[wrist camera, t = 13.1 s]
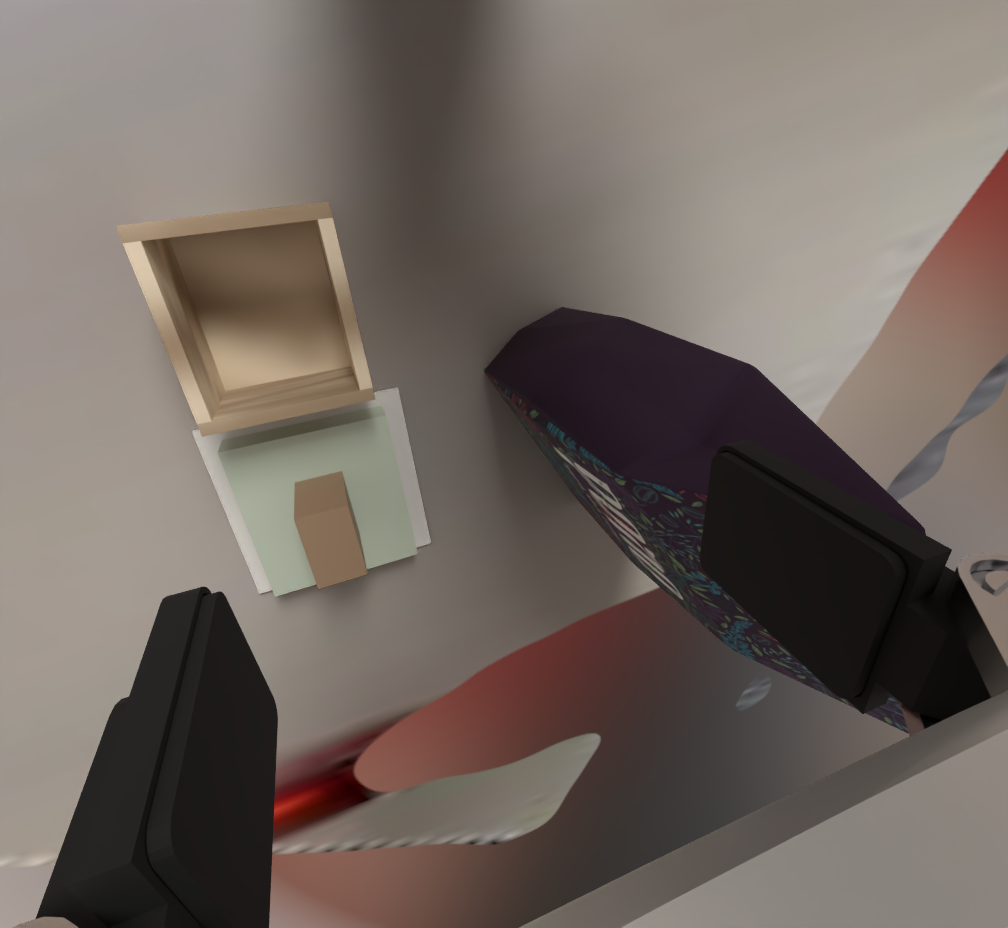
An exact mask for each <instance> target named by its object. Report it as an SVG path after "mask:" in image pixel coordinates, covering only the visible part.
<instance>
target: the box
mask: <svg viewBox="0 0 1008 928" xmlns="http://www.w3.org/2000/svg"><path fill="white" fill-rule="evenodd" d="M116 228H117V230H118V233H119V235H120V238H121V240H122V243H123V245H124V247H125V250H126V252H127V255H128V257H129V260H130V262H131V265H132V267H133V269H134V272H135V274H136V277H137V279H138V282H139V284H140V286H141V289H142V291H143V294H144V296H145V299H146V301H147V304H148V306H149V308H150V311H151V313H152V316H153V318H154V321H155V323H156V326H157V328H158V330H159V333H160V335H161V338H162V340H163V343H164V345H165V347H166V350H167V352H168V355H169V357H170V360H171V362H172V365H173V367H174V369H175V372H176V374H177V377H178V379H179V382H180V384H181V387H182V389H183V391H184V394H185V396H186V399H187V401H188V404H189V406H190V408H191V411H192V413H193V416H194V418H195V421H196V423H197V426H198V428H199V430H200V433H201V435H202V437H204V436H208V435H213V434H218V433H222V432H227V431H232V430H236V429H241V428H246V427H250V426H255V425H260V424H264V423H269V422H273V421H278V420H283V419H287V418H292V417H297V416H301V415H306V414H311V413H315V412H320V411H325V410H329V409H334V408H339V407H343V406H348V405H352V404H357V403H362V402H366V401H371V400H376V399H375V395H374V391H373V387H372V382H371V378H370V374H369V370H368V365H367V361H366V357H365V353H364V349H363V344H362V340H361V336H360V332H359V327H358V323H357V319H356V315H355V310H354V306H353V302H352V298H351V293H350V289H349V285H348V281H347V276H346V272H345V268H344V264H343V259H342V255H341V251H340V247H339V242H338V238H337V234H336V230H335V226H334V221H333V217H332V213H331V209H330V204H329V202H320V203H311V204H303V205H294V206H285V207H276V208H267V209H259V210H250V211H241V212H232V213H224V214H215V215H206V216H197V217H189V218H180V219H171V220H162V221H153V222H145V223H136V224H127V225H118V226H116Z"/></svg>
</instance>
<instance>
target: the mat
mask: <svg viewBox="0 0 1008 928" xmlns="http://www.w3.org/2000/svg"><path fill="white" fill-rule="evenodd" d="M374 395H375V399H376V400H371V401H366V402H362V403H357V404H352V405H348V406H343V407H339V408H334V409H329V410H325V411H320V412H315V413H311V414H306V415H301V416H297V417H292V418H287V419H283V420H278V421H273V422H269V423H264V424H260V425H255V426H250V427H246V428H241V429H236V430H232V431H227V432H222V433H218V434H213V435H208V436H204V437H202V435H201V433H200V430H199V429H196V430H193V431H192V433H193V436H194V438H195V441H196V443H197V445H198V448H199V450H200V453H201V455H202V457H203V460H204V462H205V465H206V467H207V469H208V472H209V474H210V477H211V479H212V481H213V484H214V486H215V489H216V491H217V493H218V496H219V498H220V501H221V503H222V505H223V508H224V510H225V512H226V515H227V517H228V520H229V522H230V524H231V527H232V529H233V532H234V534H235V536H236V539H237V541H238V544H239V546H240V548H241V551H242V553H243V556H244V558H245V560H246V563H247V565H248V568H249V570H250V572H251V575H252V577H253V579H254V582H255V584H256V587H257V589H258V591H259V594H261V593H264V592H268V591H271V590H272V588H271V586H270V583H269V581H268V578H267V576H266V573H265V571H264V568H263V566H262V563H261V561H260V558H259V556H258V553H257V551H256V548H255V546H254V543H253V541H252V538H251V536H250V533H249V531H248V528H247V526H246V523H245V521H244V518H243V516H242V513H241V511H240V508H239V506H238V503H237V501H236V498H235V496H234V493H233V491H232V488H231V486H230V483H229V481H228V478H227V476H226V473H225V471H224V468H223V466H222V463H221V461H220V458H219V456H218V450H219V447H220V444H221V442H222V440H225V439H229V438H234V437H238V436H243V435H247V434H252V433H257V432H261V431H266V430H270V429H275V428H280V427H284V426H289V425H293V424H298V423H302V422H307V421H312V420H316V419H321V418H325V417H330V416H335V415H339V414H344V413H348V412H353V411H358V410H362V409H367V408H371V407H376V406H380V405H381V406H382V408H383V410H384V412H385V414H386V417H387V422H388V426H389V431H390V435H391V439H392V444H393V448H394V452H395V457H396V461H397V466H398V470H399V474H400V479H401V483H402V487H403V492H404V496H405V501H406V505H407V509H408V514H409V518H410V522H411V527H412V531H413V536H414V540H415V544H416V548H417V547H420V546H424V545H427V544H430V543H431V540H430V536H429V531H428V526H427V521H426V517H425V512H424V507H423V503H422V498H421V493H420V489H419V484H418V479H417V474H416V470H415V465H414V460H413V456H412V451H411V446H410V442H409V437H408V432H407V427H406V423H405V418H404V413H403V409H402V404H401V399H400V395H399V390H398V387H395V388H390V389H385V390H381V391H376V392H374Z"/></svg>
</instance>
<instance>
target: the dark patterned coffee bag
mask: <svg viewBox="0 0 1008 928" xmlns="http://www.w3.org/2000/svg"><path fill="white" fill-rule="evenodd" d="M485 373H486V375H487V376H488V377H489V379H490V380H491V382H492V383H493V384H494V386H495V387H496V388H497V390H498V391H499V392H500V394H501V395H502V397H503V398H504V399H505V401H506V402H507V403H508V405H509V406H510V408H511V409H512V410H513V412H514V413H515V414H516V416H517V417H518V418H519V420H520V421H521V423H522V424H523V425H524V427H525V428H526V429H527V431H528V432H529V434H530V435H531V436H532V438H533V439H534V440H535V442H536V443H537V444H538V446H539V447H540V449H541V450H542V451H543V453H544V454H545V455H546V457H547V458H548V460H549V461H550V462H551V464H552V465H553V466H554V468H555V469H556V470H557V472H558V473H559V475H560V476H561V477H562V479H563V480H564V481H565V483H566V484H567V486H568V487H569V488H570V490H571V491H572V492H573V494H574V495H575V496H576V498H577V499H578V501H579V502H580V503H581V504H582V505H583V506H584V508H585V509H586V510H587V511H588V512H589V513H590V514H591V516H592V517H593V518H594V519H595V520H596V521H597V522H598V524H599V525H600V526H601V527H602V528H603V529H604V530H605V532H606V533H607V534H608V535H609V536H610V537H611V539H612V540H613V541H614V542H615V543H616V544H617V545H618V547H619V548H620V549H621V550H622V551H623V552H624V553H625V555H626V556H627V557H628V558H629V559H630V560H631V561H632V562H633V563H634V564H635V565H636V566H637V567H638V568H639V569H640V570H642V571H643V572H644V573H645V574H646V575H647V576H648V577H650V578H651V579H652V580H653V581H654V582H655V583H656V584H657V585H659V586H660V587H661V588H662V589H663V590H664V591H665V592H666V593H668V594H669V595H670V596H671V597H672V598H673V599H674V600H676V601H677V602H678V603H679V604H680V605H681V606H682V607H683V608H685V609H686V610H687V611H688V612H689V613H690V614H691V615H693V616H694V617H695V618H696V619H697V620H698V621H699V622H700V623H702V624H703V625H704V626H705V627H706V628H707V629H708V630H709V631H711V632H712V633H713V634H714V635H715V636H716V637H717V638H719V639H720V640H721V641H722V642H723V643H724V644H725V645H727V646H728V647H729V648H731V649H732V650H734V651H736V652H738V653H740V654H742V655H744V656H746V657H748V658H750V659H753V660H755V661H757V662H759V663H761V664H763V665H765V666H767V667H770V668H771V669H774V670H776V671H778V672H780V673H782V674H784V675H786V676H788V677H790V678H793V679H795V680H797V681H799V682H801V683H803V684H805V685H807V686H809V687H812V688H814V689H816V690H818V691H820V692H822V693H824V694H826V695H828V696H830V697H833V698H835V699H837V700H839V701H841V702H843V703H845V704H848V705H849V706H852V707H854V706H853V705H852V704H851V703H850V702H849V701H848V700H847V699H842V698H840V697H838V696H836V695H835V694H834V693H833V692H831V691H830V690H829V689H828V688H827V687H826V686H825V685H824V684H823V683H822V682H821V681H820V680H819V679H818V678H817V677H815V676H814V675H813V674H812V673H811V672H810V671H809V670H808V669H807V668H806V667H805V666H804V665H803V664H802V663H801V662H800V661H798V660H797V659H796V658H795V657H794V656H793V655H792V654H791V653H790V652H789V651H788V650H787V649H786V648H785V647H784V646H782V645H781V644H780V643H779V642H778V641H777V640H776V639H775V638H774V637H773V636H772V635H771V634H770V633H769V632H768V631H767V630H765V629H764V628H763V627H762V626H761V625H760V624H759V623H758V622H757V621H756V620H755V619H754V618H753V617H752V616H751V615H750V614H748V613H747V612H746V611H745V610H744V609H743V608H742V607H741V606H740V605H739V604H738V603H737V602H736V601H735V600H734V599H732V598H731V597H730V596H729V595H728V594H727V593H726V592H725V591H724V590H723V589H722V588H721V587H720V586H719V585H718V584H717V583H715V582H714V581H713V580H712V579H711V578H710V577H709V576H708V575H707V574H706V573H705V572H704V570H703V568H702V566H701V563H700V549H701V541H702V533H703V525H704V517H705V509H706V501H707V493H708V485H709V477H710V469H711V462H712V459H713V457H714V456H715V455H716V453H717V451H718V449H719V448H720V447H722V446H723V445H727V444H731V443H734V442H738V441H742V440H748V439H749V440H752V441H755V442H756V443H758V444H760V445H762V446H764V447H766V448H767V449H769V450H771V451H773V452H775V453H777V454H778V455H780V456H782V457H784V458H786V459H787V460H789V461H791V462H793V463H795V464H797V465H798V466H800V467H802V468H804V469H806V470H808V471H809V472H811V473H813V474H815V475H817V476H818V477H820V478H822V479H824V480H826V481H828V482H829V483H831V484H833V485H835V486H837V487H839V488H840V489H842V490H844V491H846V492H848V493H849V494H851V495H853V496H855V497H857V498H859V499H860V500H862V501H864V502H866V503H868V504H870V505H871V506H873V507H875V508H877V509H879V510H880V511H882V512H884V513H886V514H888V515H890V516H891V517H893V518H895V519H897V520H899V521H901V522H902V523H904V524H906V525H908V526H910V527H911V528H913V529H915V530H917V531H919V532H921V533H922V534H924V535H926V534H925V529H924V528H923V527H922V525H921V524H920V523H919V522H918V521H917V520H916V519H915V518H914V517H913V516H911V515H910V514H909V513H908V512H907V511H906V510H905V509H904V508H903V507H902V506H901V505H900V504H899V503H898V502H897V501H896V500H895V499H894V498H893V497H892V496H891V495H889V494H888V493H887V492H886V491H885V490H884V489H883V488H882V487H881V486H880V485H879V484H878V483H877V482H876V481H875V480H874V479H873V478H871V477H870V476H869V475H868V474H867V473H866V472H865V471H864V470H863V469H862V468H861V467H860V466H859V465H858V464H857V463H856V462H855V461H854V460H852V458H850V457H849V456H848V455H847V454H846V453H845V452H844V451H843V450H842V449H841V448H840V447H839V446H838V445H837V444H836V443H835V442H833V440H832V439H830V438H829V437H828V436H827V435H826V434H825V433H824V432H823V431H822V430H821V429H820V428H819V427H818V426H817V425H816V424H815V423H814V422H813V421H812V420H810V419H809V418H808V417H807V416H806V415H805V414H804V413H803V412H802V411H801V410H800V409H799V408H798V407H797V406H796V405H795V404H794V403H793V402H792V401H790V400H789V399H788V398H787V397H786V396H785V395H784V394H783V393H782V392H781V391H780V390H779V389H778V388H777V387H776V386H775V385H774V384H773V383H771V382H770V381H769V380H768V379H767V378H766V377H765V376H764V375H763V374H762V373H761V372H760V371H759V370H758V369H756V368H755V367H754V366H752V365H750V364H748V363H745V362H742V361H739V360H737V359H734V358H731V357H729V356H726V355H723V354H721V353H718V352H715V351H712V350H710V349H707V348H704V347H702V346H699V345H696V344H693V343H691V342H688V341H685V340H683V339H680V338H677V337H675V336H672V335H669V334H666V333H664V332H661V331H658V330H656V329H653V328H650V327H647V326H645V325H642V324H639V323H637V322H634V321H631V320H629V319H625V318H621V317H615V316H609V315H604V314H598V313H592V312H586V311H580V310H575V309H569V308H564V307H561V308H560V309H558V310H556V311H554V312H552V313H550V314H548V315H547V316H545V317H543V318H541V319H539V320H537V321H536V322H534V323H532V324H530V325H528V326H526V327H524V328H523V329H521V330H519V331H518V332H517V333H516V334H515V335H514V337H513V338H512V339H511V340H510V341H509V342H508V344H507V345H506V346H505V347H504V348H503V349H502V351H501V352H500V353H499V354H498V355H497V356H496V358H495V359H494V360H493V361H492V362H491V363H490V365H489V366H488V367H487V368H486V369H485ZM854 708H856V707H854ZM856 709H857V708H856ZM866 714H869V715H870V716H873V717H875V718H877V719H879V720H881V721H883V722H885V723H887V724H889V725H891V726H894V727H896V728H898V729H900V730H902V731H904V732H906V733H909V732H908V729H907V725H906V722H905V719H904V715H903V712H902V709H901V705H900V701H898V700H897V699H896V698H895V697H894V696H892V695H891V694H890V696H889V698H888V700H887V703H886V704H884V705H881V706H879V707H877V708H875V709H873V710H871V711H868V712H866Z"/></svg>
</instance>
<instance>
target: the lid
mask: <svg viewBox="0 0 1008 928" xmlns="http://www.w3.org/2000/svg"><path fill="white" fill-rule="evenodd" d="M218 456H219V458H220V461H221V463H222V466H223V468H224V471H225V473H226V476H227V478H228V481H229V483H230V486H231V488H232V491H233V493H234V496H235V498H236V501H237V503H238V506H239V508H240V511H241V513H242V516H243V518H244V521H245V523H246V526H247V528H248V531H249V533H250V536H251V538H252V541H253V543H254V546H255V548H256V551H257V553H258V556H259V558H260V561H261V563H262V566H263V568H264V571H265V573H266V576H267V578H268V581H269V583H270V586H271V588H272V591H273V593H274V596H275V597H276V596H279V595H282V594H286V593H289V592H292V591H296V590H299V589H303V588H306V587H309V586H313V585H317V587H318V589H320V588H324V587H327V586H330V585H334V584H337V583H340V582H344V581H347V580H350V579H354V578H357V577H360V576H364V575H367V574H368V573H367V569H370V568H373V567H376V566H380V565H383V564H386V563H390V562H393V561H396V560H400V559H403V558H407V557H410V556H413V555H417V554H418V553H417V549H416V544H415V540H414V536H413V531H412V527H411V522H410V518H409V514H408V509H407V505H406V501H405V496H404V492H403V487H402V483H401V479H400V474H399V470H398V466H397V461H396V457H395V452H394V448H393V444H392V439H391V435H390V431H389V426H388V422H387V417H386V414H385V412H384V410H383V408H382V406H381V405H380V406H376V407H371V408H367V409H362V410H358V411H353V412H348V413H344V414H339V415H335V416H330V417H325V418H321V419H316V420H312V421H307V422H302V423H298V424H293V425H289V426H284V427H280V428H275V429H270V430H266V431H261V432H257V433H252V434H247V435H243V436H238V437H234V438H229V439H225V440H222V442H221V444H220V447H219V450H218Z"/></svg>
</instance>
